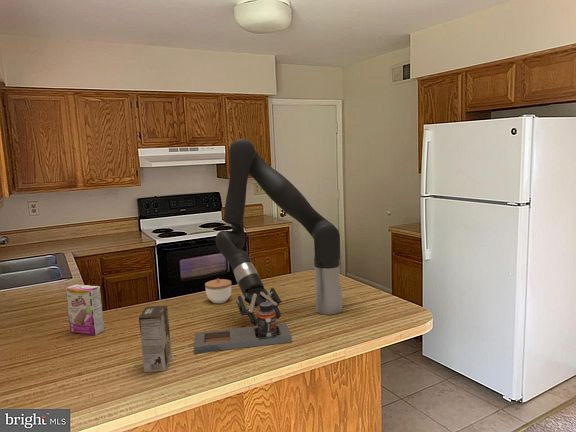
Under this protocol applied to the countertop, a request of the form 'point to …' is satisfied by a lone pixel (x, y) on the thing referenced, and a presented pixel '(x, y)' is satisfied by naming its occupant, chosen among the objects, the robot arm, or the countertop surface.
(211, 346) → the plate with square holes
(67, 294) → the candy bar box
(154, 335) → the coffee box
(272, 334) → the supplement bottle
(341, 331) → the countertop surface
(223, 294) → the lidded jar
